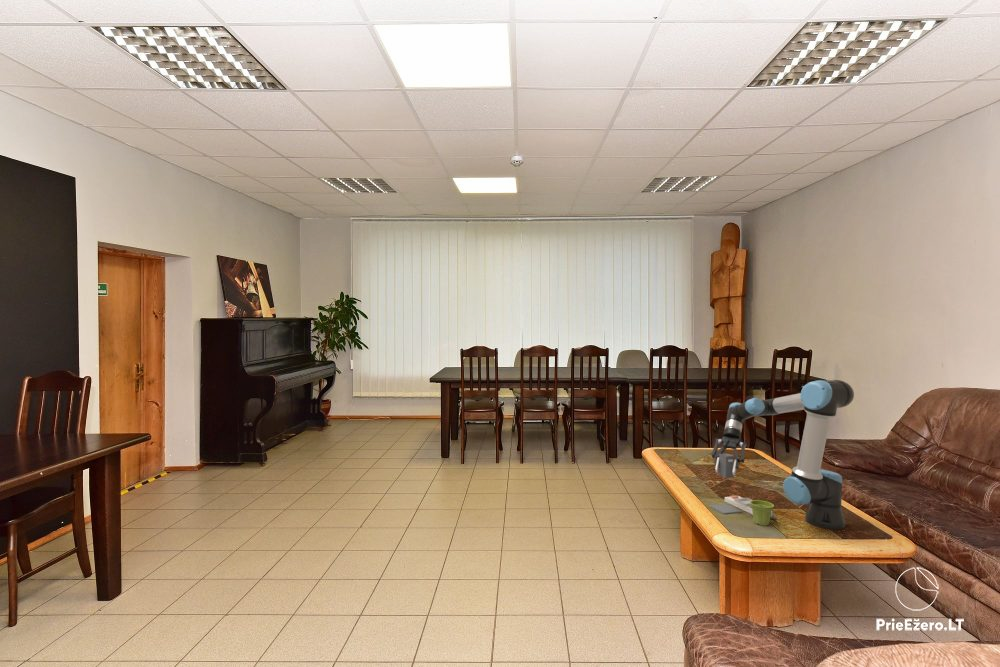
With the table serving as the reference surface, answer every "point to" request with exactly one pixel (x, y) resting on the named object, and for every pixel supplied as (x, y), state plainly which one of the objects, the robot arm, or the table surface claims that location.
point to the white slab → (743, 504)
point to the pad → (725, 509)
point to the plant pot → (761, 511)
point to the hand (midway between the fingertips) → (724, 472)
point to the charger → (726, 465)
